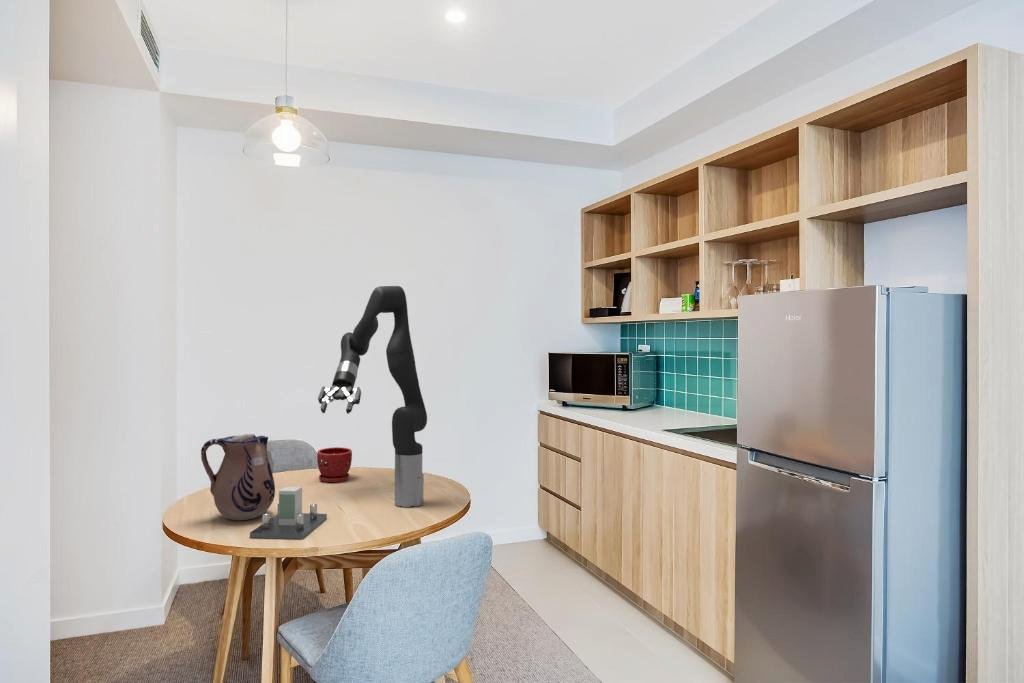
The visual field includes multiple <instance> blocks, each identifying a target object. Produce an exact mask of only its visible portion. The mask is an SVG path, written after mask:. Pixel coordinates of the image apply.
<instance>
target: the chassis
mask: <svg viewBox="0 0 1024 683" xmlns="http://www.w3.org/2000/svg"><path fill="white" fill-rule="evenodd" d="M270 517H271V513H270V512H265V513H263V514H262V515H261V518H262V520H261V523H262V524H260V525H259V526H257V528H254V529H253V530H252V531H250V532H249V538H250V539H269V538H273V539H275V540H276V539H278V540H279V539H281V540H283V539H284V540H304V538H306V537H308V536H309V535H310V534H311V533H312V532H313V531H314V530H316V529H317V528H318V527H319V526H320V525H321V524H323V523H324V522H325V521H326V520H327V519H328V514H327V513H318V504H317V503H311V504H310V505H309V513H306V512H305V513H304V512H302V514H297V525H279V503H277V514H276V515H274V516H273V517H271V518H270ZM310 532H311V533H310Z"/></svg>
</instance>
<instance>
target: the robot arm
mask: <svg viewBox="0 0 1024 683" xmlns="http://www.w3.org/2000/svg"><path fill="white" fill-rule="evenodd" d="M384 313H385V314H386V313H387V314H390V313H393V317H394V320H393V321H394V325H393V326H394V327H393V330H392V333H391V336H390V338H389V339H388V342H387V345H386V350H385V355H386V361H387V366H388V370H389V373H390V375H391V377H392V378H393V380H394V381H395V383H396V385H397V386H398V387H399V389H400V391H401V394H402V396H403V401H404V406H400V407H397V408H396V409H395V410H394V411H393V414H392V416H391V417H392V418H391V434H392V445H393V448H394V497H393V499H394V505H395V506H396V505H397V506H396V507H400V506H402V507H401V508H411V506H414V507H421V506H422V504H423V503H424V484H425V483H424V478H425V477H424V473H423V445H422V443H420V442H417V441H416V436H415V434H416V433H417V432H418V433H419V432H421V431H423V430H425V428H426V426H427V423H428V414H427V410H426V406H425V401H424V398H423V394H422V391H421V388H420V382H419V378H418V372H417V367H416V359H415V352H414V349H413V344H412V338H411V337H412V336H411V331H410V325H409V315H408V314H409V312H408V302H407V296H406V293H405V290H404V288H403V287H402V286H400V285H381V286H377V287H375V288H374V289H373V291H372V292H371V294H370V296H369V299H368V301H367V304H366V306H365V309H364V312H363V315H362V317H361V318H360V320H359V322H357V325H356V326H355V327H354V329H353V332H350V331H349V332H346V333H345V334H343V335H342V337H341V340H340V352H341V353H340V354H341V355H340V360H339V363H338V366H337V368H336V371H335V374H334V376H333V380H332V384H331V387H330V388H327V387H326V386H324V385H323V386H322V387H321V389H320V392H319V394H318V397H317V401H318V403H319V404H320V411H321V413H322V414H325V413H326V411H327V407H328V405H329V404H330V403H333V401H345V400H346V401H347V405H346V408H345V411H346V412H345V413H346V414H350V413H352V411H353V407H354V405H360V402H361V398H362V397H361V396H362V389H361V387H360V386H358V387H356V388H354V387H355V384H356V380H357V377H358V370H359V368H360V367H359V366H360V363H361V357H362V356H365V355H366V354H367V352H368V350H369V348H370V342H371V340H372V338H373V337H374V335H376V332H377V331H378V329H379V320H378V317H377V316H379V315H380V314H384ZM353 394H354V398H353V397H352V396H353ZM422 502H423V503H422ZM420 505H421V506H420Z"/></svg>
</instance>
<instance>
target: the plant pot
mask: <svg viewBox="0 0 1024 683" xmlns="http://www.w3.org/2000/svg"><path fill="white" fill-rule="evenodd" d="M316 455H317V456H316V457H317V461H316V462H317V468H318V471H319V476H318V479H319V480H320V481H322V482H324V483H328V482H337V483H341V482H345V481H347V480H348V479H349V478H350V473H349V471H350V469H351V466H352V459H353V450H352V449H351V448H347V447H340V446H338V447H337V446H336V447H326V448H321V449H319V450H318V451H317V454H316Z"/></svg>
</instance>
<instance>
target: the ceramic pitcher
mask: <svg viewBox="0 0 1024 683" xmlns="http://www.w3.org/2000/svg"><path fill="white" fill-rule="evenodd" d="M268 441H269V436H265V435H258V436H256V434H254V433H253V434H240V435H239V434H238V435H230V436H226V437H222V438H220V437H219V438H211V439H209V440H208V441H205V443H204V444H203V445H202V447H201V449H200V457H201V462H202V465H203V467H204V470H205V472H206V474H207V476H208V478H209V480H210V493H211V495H212V496H213V500H214V502H213V503H214V505H215V507H216V509H217V511H218V512H219V513H220V514H221V515H222V516H223V517H225V518H226V519H229V520H230V519H231V521H247V520H249V519H250V520H253V519H256V518H259V517H262V514H263V513H267V511H268V510H269V509H270V507H271V506H272V504H273V502H274V499H275V496H276V485H275V479H274V475H273V474H272V470H271V467H270V463H269V459H268V455H267V451H268ZM213 445H218V446H220V447H221V448H222V451H223V452H224V456H223V458H222V462H221V463H220V465H219V469H218V470H217V472H216V474H215V473H214V471H213V468H212V467H211V465H210V464H209V461H208V457H207V452H208V449H209V448H210V447H211V446H213Z"/></svg>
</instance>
